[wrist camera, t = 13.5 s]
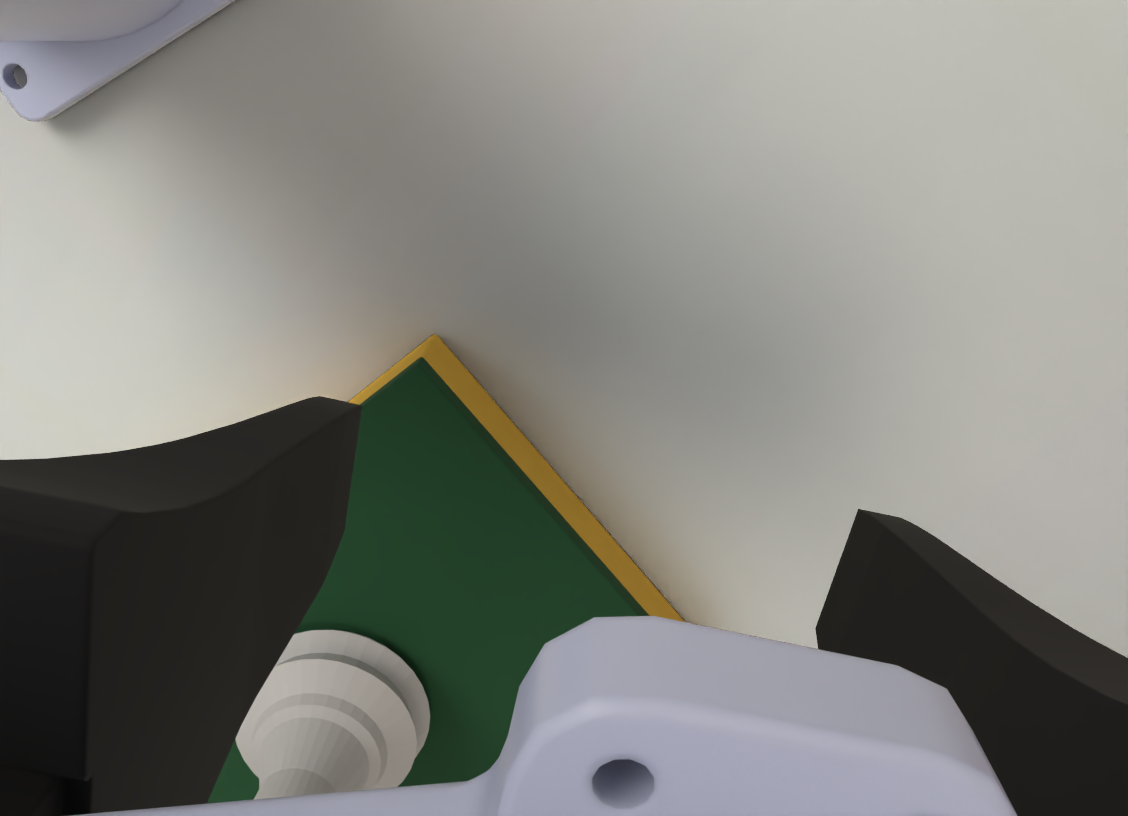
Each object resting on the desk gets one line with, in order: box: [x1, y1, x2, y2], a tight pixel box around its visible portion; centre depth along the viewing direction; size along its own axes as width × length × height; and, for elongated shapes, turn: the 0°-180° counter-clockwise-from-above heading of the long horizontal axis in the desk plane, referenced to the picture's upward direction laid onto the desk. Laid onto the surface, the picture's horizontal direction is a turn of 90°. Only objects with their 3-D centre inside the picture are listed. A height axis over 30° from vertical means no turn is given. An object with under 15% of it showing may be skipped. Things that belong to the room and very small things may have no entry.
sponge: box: [207, 334, 685, 804], centre depth 25 cm, size 11×15×2 cm
